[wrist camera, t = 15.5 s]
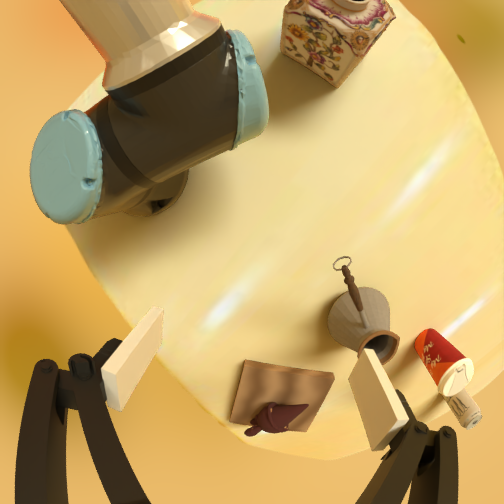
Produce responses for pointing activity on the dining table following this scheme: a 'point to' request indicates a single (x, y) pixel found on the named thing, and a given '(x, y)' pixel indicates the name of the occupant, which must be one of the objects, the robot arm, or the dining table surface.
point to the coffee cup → (444, 362)
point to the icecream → (275, 418)
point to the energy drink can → (464, 408)
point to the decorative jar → (333, 34)
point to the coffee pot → (362, 320)
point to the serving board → (280, 392)
